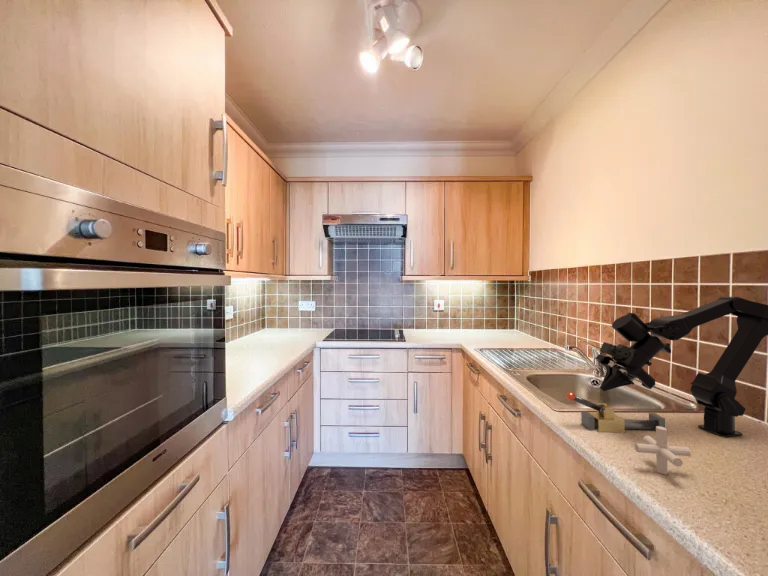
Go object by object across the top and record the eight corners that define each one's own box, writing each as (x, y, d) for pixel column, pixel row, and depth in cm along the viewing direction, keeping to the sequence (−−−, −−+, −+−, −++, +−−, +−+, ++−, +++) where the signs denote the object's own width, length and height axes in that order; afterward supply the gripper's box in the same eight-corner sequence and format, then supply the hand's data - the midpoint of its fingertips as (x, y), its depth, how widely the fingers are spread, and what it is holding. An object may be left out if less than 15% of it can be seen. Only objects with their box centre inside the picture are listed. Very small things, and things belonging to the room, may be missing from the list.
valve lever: (608, 407, 93) (566, 389, 95) (614, 410, 91) (570, 392, 92) (605, 414, 93) (562, 397, 95) (610, 418, 91) (566, 400, 92)
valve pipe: (652, 425, 93) (652, 403, 93) (667, 433, 88) (667, 411, 88) (580, 423, 96) (579, 402, 96) (590, 431, 90) (589, 409, 90)
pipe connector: (706, 488, 64) (705, 440, 64) (650, 483, 66) (650, 436, 66) (671, 461, 74) (671, 420, 74) (624, 457, 76) (624, 417, 76)
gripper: (600, 329, 101) (566, 362, 102) (642, 338, 82) (598, 379, 84) (627, 353, 100) (592, 386, 101) (675, 368, 81) (631, 409, 83)
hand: (601, 389), depth 92 cm, fingers closed
